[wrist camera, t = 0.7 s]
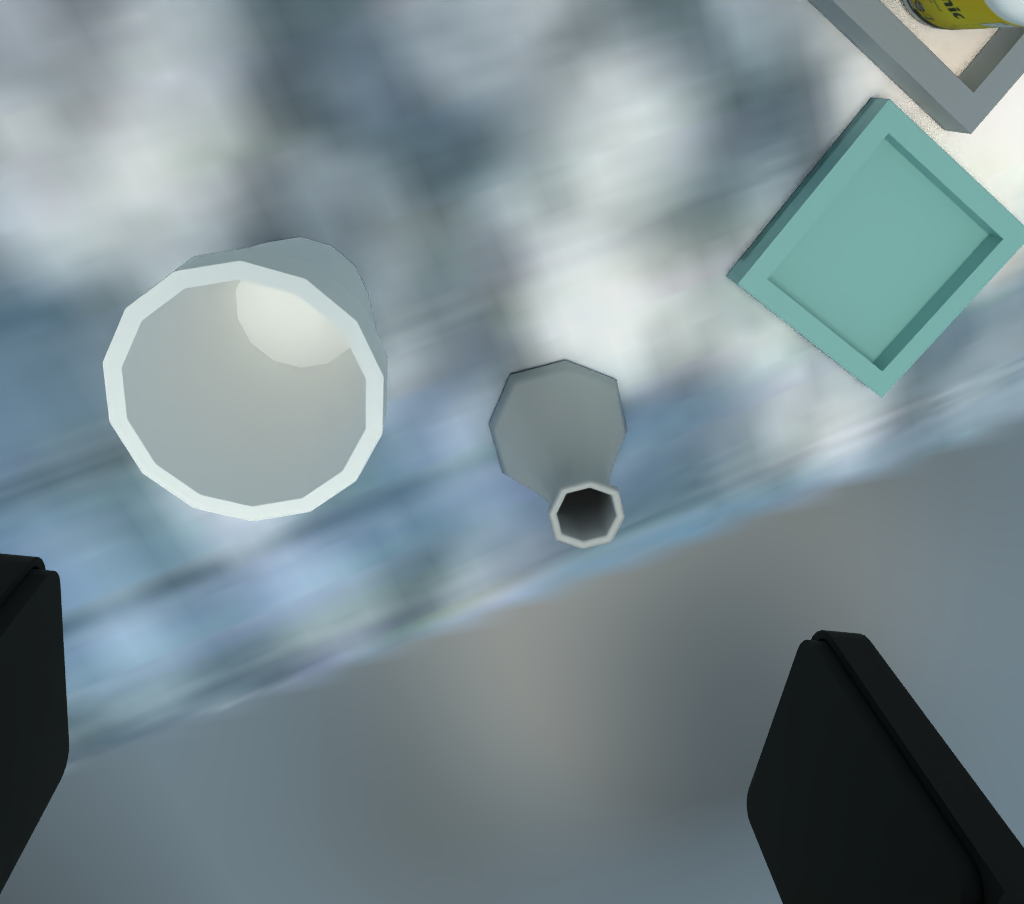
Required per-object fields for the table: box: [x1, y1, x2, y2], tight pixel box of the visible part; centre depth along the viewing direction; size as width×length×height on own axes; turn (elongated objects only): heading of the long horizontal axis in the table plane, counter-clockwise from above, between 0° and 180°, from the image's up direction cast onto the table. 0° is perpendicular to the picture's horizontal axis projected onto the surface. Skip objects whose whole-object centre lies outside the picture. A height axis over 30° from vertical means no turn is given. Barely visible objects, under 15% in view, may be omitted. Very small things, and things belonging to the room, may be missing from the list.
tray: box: [726, 98, 1024, 397], centre depth 42 cm, size 10×10×2 cm
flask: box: [489, 360, 627, 549], centre depth 41 cm, size 7×7×10 cm
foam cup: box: [103, 237, 387, 521], centre depth 36 cm, size 10×9×13 cm
